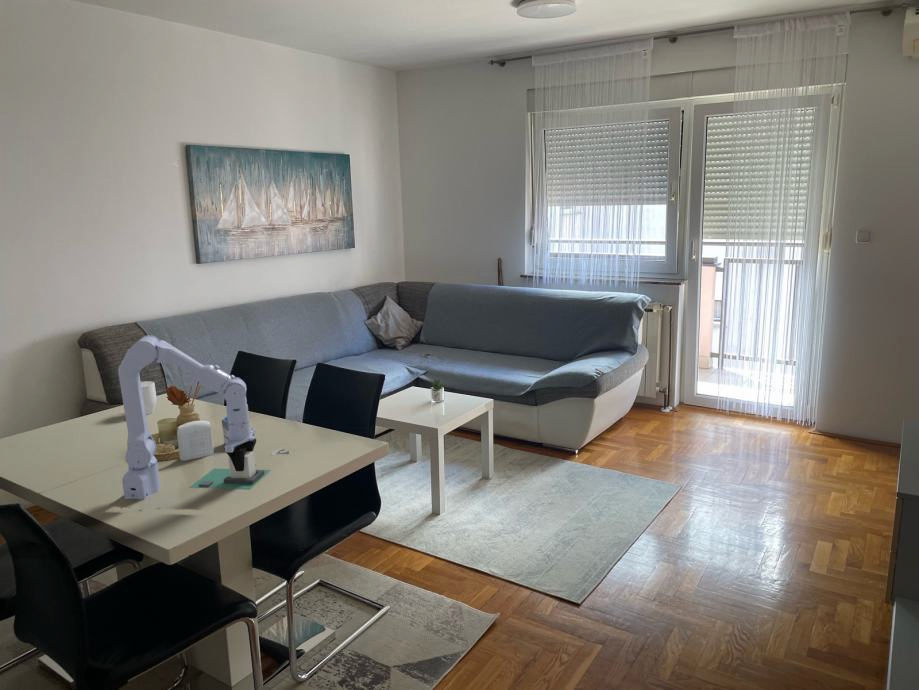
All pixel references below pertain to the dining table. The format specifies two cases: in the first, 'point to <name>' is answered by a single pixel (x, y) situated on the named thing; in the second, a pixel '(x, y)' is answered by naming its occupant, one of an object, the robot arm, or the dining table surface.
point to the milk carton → (225, 430)
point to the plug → (248, 467)
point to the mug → (149, 396)
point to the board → (228, 480)
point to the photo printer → (195, 440)
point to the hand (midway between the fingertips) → (243, 467)
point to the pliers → (280, 452)
